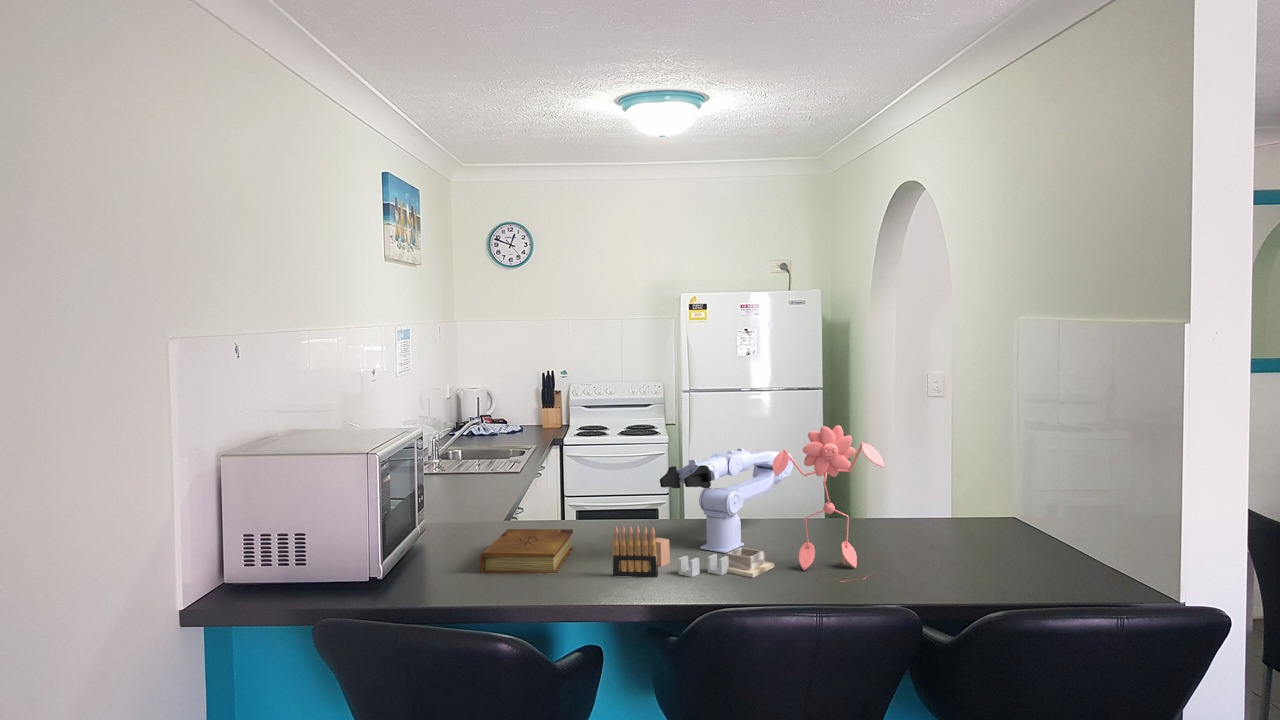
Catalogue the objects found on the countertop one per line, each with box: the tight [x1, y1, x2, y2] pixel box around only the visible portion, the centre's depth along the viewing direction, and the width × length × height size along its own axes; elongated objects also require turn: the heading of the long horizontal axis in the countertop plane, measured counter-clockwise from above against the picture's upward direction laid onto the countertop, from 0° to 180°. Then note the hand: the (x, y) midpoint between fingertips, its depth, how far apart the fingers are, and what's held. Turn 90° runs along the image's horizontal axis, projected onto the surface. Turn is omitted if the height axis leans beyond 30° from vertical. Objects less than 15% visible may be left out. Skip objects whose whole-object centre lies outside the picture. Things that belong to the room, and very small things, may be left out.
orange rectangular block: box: [655, 537, 671, 568], centre depth 213 cm, size 4×4×6 cm
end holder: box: [717, 546, 775, 578], centre depth 207 cm, size 10×10×4 cm
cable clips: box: [677, 553, 729, 578], centre depth 205 cm, size 8×9×4 cm
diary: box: [479, 528, 574, 575], centre depth 219 cm, size 23×19×6 cm
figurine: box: [772, 425, 885, 583], centre depth 202 cm, size 15×26×35 cm, turn 90°
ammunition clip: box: [612, 525, 659, 578], centre depth 204 cm, size 11×2×12 cm, turn 82°
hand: (673, 483), depth 210 cm, fingers open, 7 cm apart
